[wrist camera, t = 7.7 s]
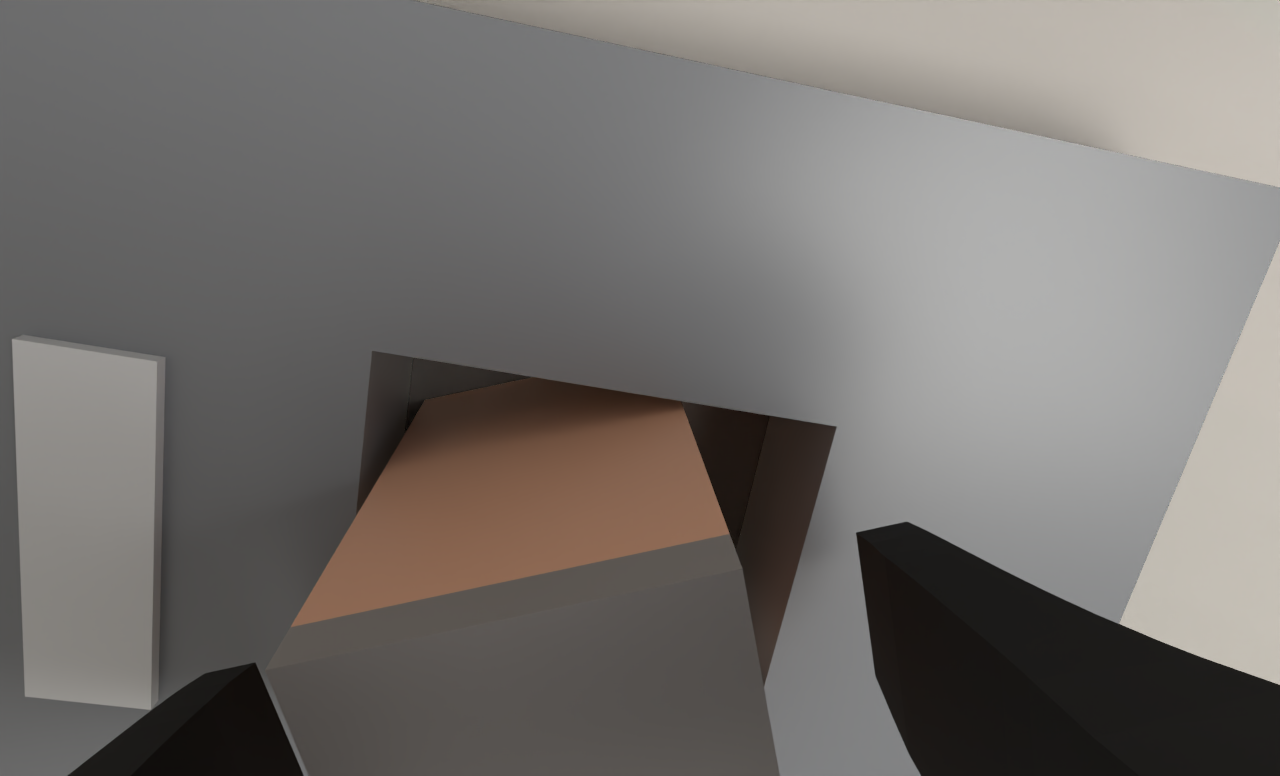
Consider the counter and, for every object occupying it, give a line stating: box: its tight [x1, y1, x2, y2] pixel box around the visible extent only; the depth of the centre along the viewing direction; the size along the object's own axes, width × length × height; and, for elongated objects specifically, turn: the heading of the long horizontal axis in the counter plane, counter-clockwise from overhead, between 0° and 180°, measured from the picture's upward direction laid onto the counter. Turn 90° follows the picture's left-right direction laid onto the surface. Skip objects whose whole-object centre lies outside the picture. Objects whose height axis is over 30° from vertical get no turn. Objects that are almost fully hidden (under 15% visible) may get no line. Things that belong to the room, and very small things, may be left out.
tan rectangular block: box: [265, 377, 780, 776], centre depth 11 cm, size 4×4×7 cm
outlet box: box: [0, 0, 1280, 776], centre depth 12 cm, size 14×16×3 cm
